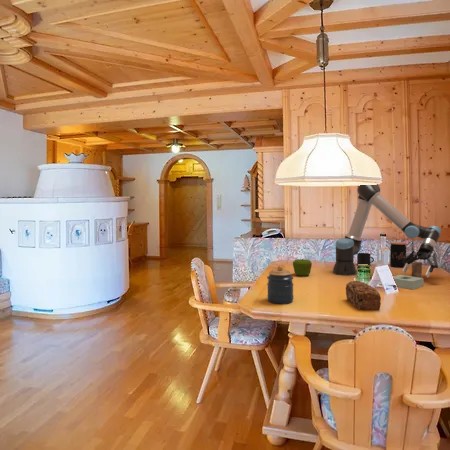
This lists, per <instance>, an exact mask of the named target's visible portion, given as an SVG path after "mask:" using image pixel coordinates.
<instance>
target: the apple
mask: <svg viewBox="0 0 450 450" xmlns="http://www.w3.org/2000/svg"><path fill="white" fill-rule="evenodd" d="M312 264H313V263H312V261H311V260H310V259H304V258H298V259H294V261H292V266H293V267H292V268H293V271H294V274H296V275H297V276H298V277H308V276H309V275H310V274H311V269H312Z"/></svg>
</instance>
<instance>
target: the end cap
mask: <svg viewBox="0 0 450 450" xmlns="http://www.w3.org/2000/svg"><path fill="white" fill-rule="evenodd" d="M393 279H394V281H395V283H396V285H397V286H398V287H397V288H402V289H409V290H415V289H419V288H421V287H424V285H425V284H424V281H425V280H424V278H423V277H422V278H418V277H412V275H411V276H410V275H405V274H397V275H393Z"/></svg>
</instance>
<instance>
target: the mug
mask: <svg viewBox="0 0 450 450" xmlns="http://www.w3.org/2000/svg"><path fill="white" fill-rule="evenodd" d="M356 256H357V257H356V258H357V259H356V260H357V261H356V265H357V266H358V264H368V265H370V266H371V263H374V262H375V258H374V257H373V256H371V253H368V252H358V253H357V254H356ZM371 259H372V261H371Z"/></svg>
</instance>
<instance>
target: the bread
mask: <svg viewBox="0 0 450 450" xmlns="http://www.w3.org/2000/svg"><path fill="white" fill-rule="evenodd" d="M345 296H346V300H347V301H349V303H350V304H352V306H354V307H356V308H357V309H358V310H361V311H362V310H364V311H368V310H372V311H374V310H375V311H376V310H377V311H379V310H380V309H381V304H382V303H381V300H382V297H381V294H380V292H379V291H378V290H377V289H376V288H374V286H372V285H369V284H368V283H365V282H364V281H358V280H353V281H349V282H348V283H346V285H345Z"/></svg>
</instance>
